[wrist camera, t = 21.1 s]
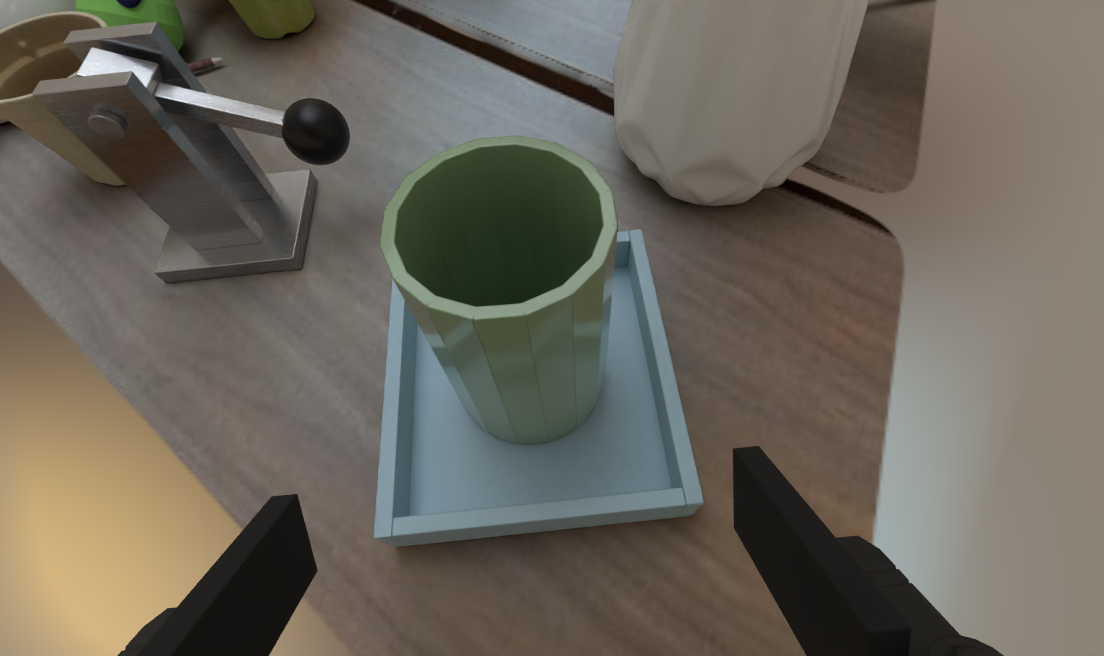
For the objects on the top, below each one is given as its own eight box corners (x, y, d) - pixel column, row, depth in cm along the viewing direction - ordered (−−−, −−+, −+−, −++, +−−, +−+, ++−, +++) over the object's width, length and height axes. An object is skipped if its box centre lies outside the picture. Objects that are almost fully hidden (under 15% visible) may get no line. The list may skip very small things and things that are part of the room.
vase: (620, 79, 42) (637, -169, 29) (804, 91, 40) (911, -168, 27) (596, 212, 35) (604, -33, 22) (815, 233, 34) (966, -19, 20)
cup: (596, 308, 31) (603, 127, 20) (611, 439, 27) (631, 308, 16) (462, 318, 31) (392, 145, 20) (458, 450, 27) (367, 328, 16)
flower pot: (109, 224, 37) (-11, 123, 30) (46, 171, 40) (-77, 68, 33) (218, 146, 41) (136, 39, 33) (152, 103, 44) (63, -4, 36)
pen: (91, 105, 44) (81, 94, 43) (91, 99, 44) (81, 89, 43) (227, 64, 46) (220, 53, 45) (226, 59, 46) (219, 48, 45)
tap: (317, 180, 38) (208, -1, 27) (302, 269, 34) (166, 99, 23) (195, 193, 38) (37, 18, 27) (166, 283, 34) (-35, 121, 23)
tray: (637, 260, 33) (641, 228, 31) (692, 515, 26) (704, 503, 23) (409, 285, 33) (393, 255, 31) (395, 547, 26) (373, 538, 23)
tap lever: (350, 142, 33) (354, 94, 30) (344, 184, 31) (348, 137, 28) (113, 88, 29) (91, 26, 26) (90, 133, 27) (65, 72, 24)
